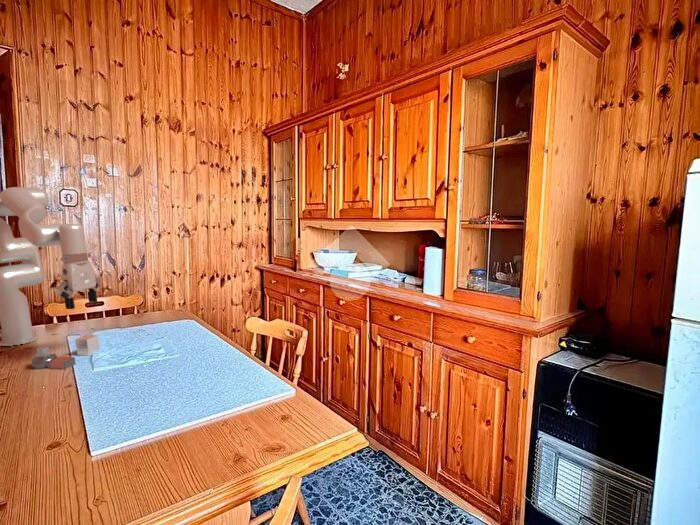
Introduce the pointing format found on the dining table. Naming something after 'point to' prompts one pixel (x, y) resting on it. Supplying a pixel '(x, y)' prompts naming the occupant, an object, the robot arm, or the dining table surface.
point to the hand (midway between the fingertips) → (82, 305)
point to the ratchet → (51, 360)
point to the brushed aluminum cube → (87, 344)
